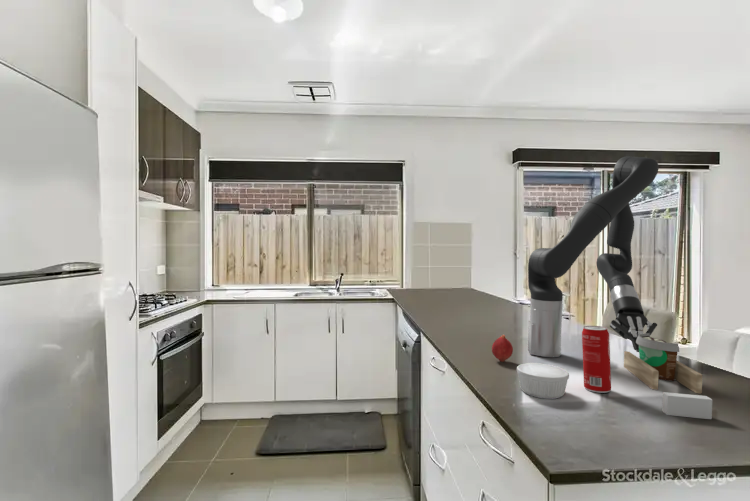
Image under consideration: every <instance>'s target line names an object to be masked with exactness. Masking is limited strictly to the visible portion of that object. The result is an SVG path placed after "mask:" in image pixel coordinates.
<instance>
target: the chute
mask: <svg viewBox="0 0 750 501" xmlns="http://www.w3.org/2000/svg"><path fill="white" fill-rule="evenodd" d="M623 353H624V354H623V355H624V356H623V368H624V369H626V370H627V371H629V372H630V373H631V374H632V375H634V376H635V377H636V378H637V379H638V380H640V381H641V382H643V384H645V385H646V386H647V387H649V388H650V389H652V390H655V391H656V390H657V391H658V390H659V379H658V375H659V371H658V370H656V369H654V368H653V367H651V366H650V365H648V364H647V363H645V362H644V361H642V360H641V359H639V356H636V355H635V354H634V353H632V352H630V351H626V350H625V351H624V352H623ZM674 381H676V382H679V383H680V384H681V385H682V386H684V387H686V388H687V389H688V390H690V391H692V392H693V393H695V394H700V395H702V392H703V374H702V373H700V372H698V371H696V370H695V369H693V368H691V367H690V366H687V365H686V364H684V363H682V362H681V361H678V360H676V369H675V377H674Z"/></svg>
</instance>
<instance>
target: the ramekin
mask: <svg viewBox="0 0 750 501" xmlns="http://www.w3.org/2000/svg"><path fill="white" fill-rule="evenodd" d="M516 372H517V376H518V382H519V386H520V389H521V391H523V393H525V394H526V395H529V396H532V397H535V398H539V399H548V400H550V399H553V400H554V399H559V398H562V397H563V396H564V394H565V393H566V388H567V384H568V380H569V379H570V374H569V372H568V371H567V370H566V369H564V368H562V367H560V366H557V365H552V364H548V363H540V362H527V363H521V364H519V365H518V366H516Z"/></svg>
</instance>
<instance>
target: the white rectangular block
mask: <svg viewBox="0 0 750 501" xmlns="http://www.w3.org/2000/svg"><path fill="white" fill-rule="evenodd" d="M661 410H662V413H664V414H665V415H666V416H673V417H674V416H675V417H683V418H684V417H685V418H686V417H687V418H695V419H703V420H704V419H705V420H712V417H713V399H712V398H711V397H709V396H707V395H701V394H700V395H698V394H688V393H677V392H666V391H663V392H662V408H661Z"/></svg>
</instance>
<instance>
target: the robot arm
mask: <svg viewBox="0 0 750 501" xmlns="http://www.w3.org/2000/svg"><path fill="white" fill-rule="evenodd" d="M659 169H660V168H659V162H658V161H657V160H656V159H654V158H651V157H643V156H630V155H629V156H623V157H621V158H619V159H618V160H617V161H616V162H615V165H614V168H613V171H612V172H613V173H612V183H611V184H612V187H611V189H608V190H607V191H604V192H602V193H600V194H598V195H595V196H594V197H592V198H590V199H589V200H587V202H586V203H585V204H584V205H583V206H582V207H581V208H580V209H579V210H578V211H577V212H576V213H575V215H574V216H573V218H572V220H571V224H570V227H569V229H568V232H567V234H566V235H564V237H563V238H562V239H561V240H560V241H559V242H558V243H557V244H556V245H555V246H553V247H542V248H541V247H540V248H536V249H534V251H532V252H531V254H530V256H529V258H528V265H527V280H528V282H527V284H528V286H527V287H528V290H529V292H530V308H529V313H530V314H529V320H528V327H527V328H528V332H527V335H528V336H527V351H528V352H529V354H530V355H531V356H532V355H533V356H538V357H542V358H559V357H560V356H561V353H562V352H561V351H562V326H563V325H562V321H563V297H564V296H563V291H562V290H561V289H560V287H558V285H557V283H556V279H559V278H561V277H563V276H565V275H566V273H567V272H568V271H569V270H571V267H572V266H573V265H574V263H575V262H576V260H577V259H578V258H579V257H580V255H581V254H582V252H584V250H585V249H586V248H587V247H588V246H589V245H590V244H591V243H593V241H594V239H596V238H597V236H598V235H599V234H600V233H602V231H604V229H605V228H606V227H607V226H608V225H609V224H610V225H609V229H608V234H607V239H606V245H607V246H609V247H611V248H615V249H618V250H619V254H618V253H607V252H606V253H605V252H604V253H601V254H599V255H598V257H597V259H596V269H597V270H598V272H599V274H600V275H601V277H602V278H603V279H604V281H605V282H606V284H607V286H608V289H609V290H608V291H609V294H610V300H611V305H612V308H613V311H614V314H615V319H613V320H611V322H610V324H609V327H610V328H611V330H613V331H614V332H616V333H617V334H618V335H619V336H620V337H622V338H623V339H624V340H629V341H631V344H632V347H633V350H634V351H636V353H639V345H638V344H637V343H636V340H637V337H638V336H639V334H644V328H645V327H646V332H645V333H650V336H651V335H652V334H653V332H654V331H655V329H656V328H657V326H658V323H656V322H651V321H648V317H646V315H645V313H644V309H643V307H642V304H641V300H640V297H639V294H638V292H637V290H636V288H635V286H634V282H633V280H632V277H631V276H630V275H629V273H630V272H631V271H632V269H633V259H632V257H633V256H632V239H633V235H634V231H635V218H634V215H633V212H632V209H631V206H630V202H631V201H633V199H635V198H636V197H637V196H639V195H640V193H642V192H643V191H644V190H645V189H646V188H648V187H649V186H650V185H651V184H652V183H653V181H654V180H656V179H655V178H656V177H657V175H658V172H659Z"/></svg>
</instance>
